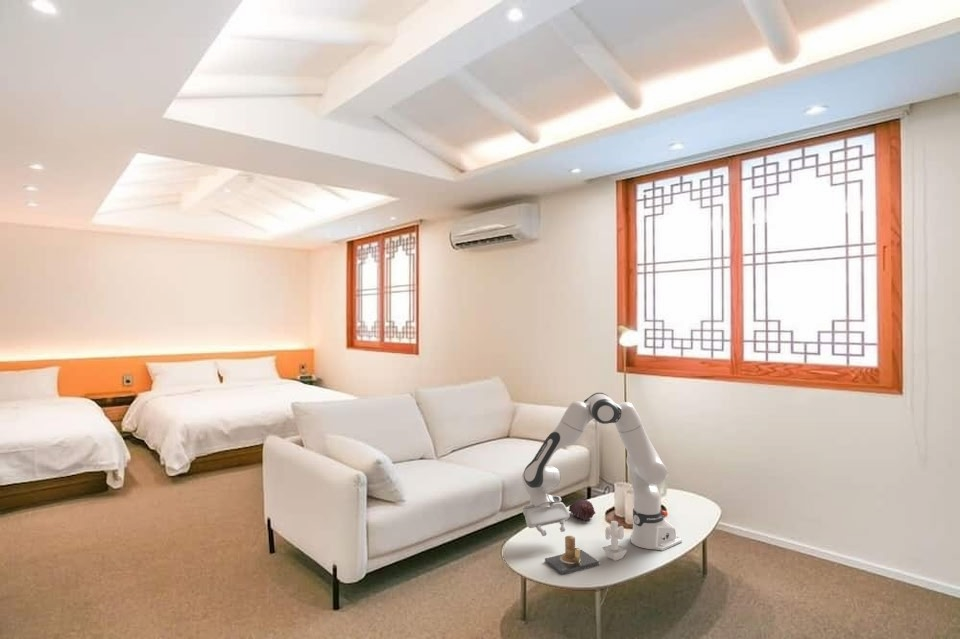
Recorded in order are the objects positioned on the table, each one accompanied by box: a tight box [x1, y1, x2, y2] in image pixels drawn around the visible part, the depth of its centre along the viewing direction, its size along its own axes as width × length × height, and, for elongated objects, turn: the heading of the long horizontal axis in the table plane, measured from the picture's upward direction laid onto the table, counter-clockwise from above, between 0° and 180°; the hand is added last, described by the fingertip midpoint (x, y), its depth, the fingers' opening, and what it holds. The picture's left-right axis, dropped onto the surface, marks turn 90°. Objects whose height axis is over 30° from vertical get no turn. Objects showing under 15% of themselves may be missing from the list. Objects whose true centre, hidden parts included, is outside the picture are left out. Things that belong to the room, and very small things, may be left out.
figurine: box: [602, 520, 628, 562], centre depth 220 cm, size 7×9×15 cm
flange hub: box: [561, 535, 576, 563], centre depth 216 cm, size 7×7×8 cm
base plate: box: [544, 549, 600, 576], centre depth 215 cm, size 18×12×2 cm, turn 115°
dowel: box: [575, 547, 581, 565], centre depth 212 cm, size 2×2×6 cm
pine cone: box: [568, 498, 596, 521], centre depth 264 cm, size 18×10×10 cm
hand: (554, 533), depth 227 cm, fingers open, 8 cm apart
